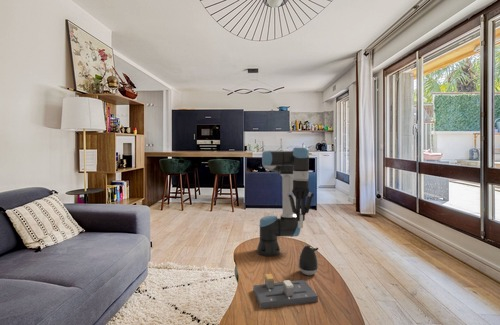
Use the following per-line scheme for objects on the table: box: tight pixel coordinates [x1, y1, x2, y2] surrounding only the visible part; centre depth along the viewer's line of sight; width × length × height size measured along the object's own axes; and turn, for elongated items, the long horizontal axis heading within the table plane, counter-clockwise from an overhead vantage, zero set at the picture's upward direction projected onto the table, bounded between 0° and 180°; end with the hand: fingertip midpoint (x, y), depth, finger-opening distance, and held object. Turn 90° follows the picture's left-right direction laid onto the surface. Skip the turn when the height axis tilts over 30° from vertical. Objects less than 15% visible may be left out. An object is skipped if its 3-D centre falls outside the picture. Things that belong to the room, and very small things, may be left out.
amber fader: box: [264, 273, 275, 289], centre depth 126 cm, size 5×3×5 cm, turn 11°
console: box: [252, 279, 319, 309], centre depth 122 cm, size 15×26×3 cm, turn 101°
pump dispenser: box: [298, 244, 319, 276], centre depth 144 cm, size 10×10×15 cm
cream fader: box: [282, 279, 293, 296], centre depth 119 cm, size 5×3×5 cm, turn 11°
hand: (300, 227), depth 130 cm, fingers closed
